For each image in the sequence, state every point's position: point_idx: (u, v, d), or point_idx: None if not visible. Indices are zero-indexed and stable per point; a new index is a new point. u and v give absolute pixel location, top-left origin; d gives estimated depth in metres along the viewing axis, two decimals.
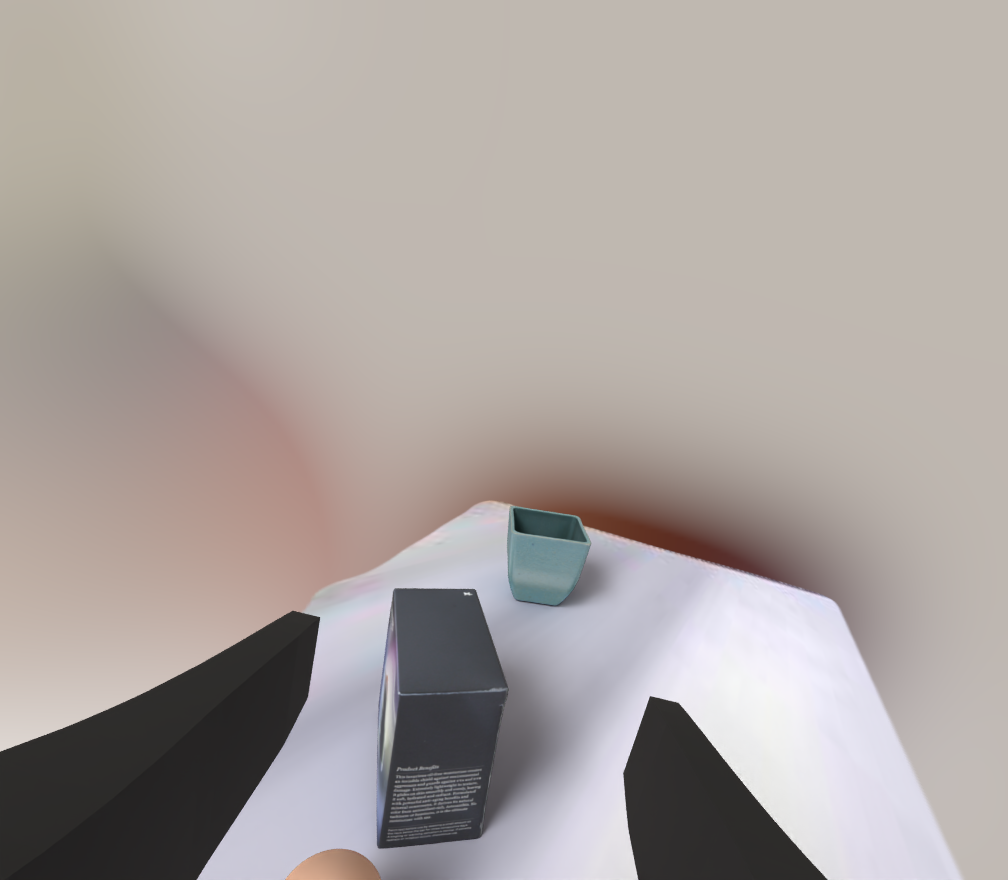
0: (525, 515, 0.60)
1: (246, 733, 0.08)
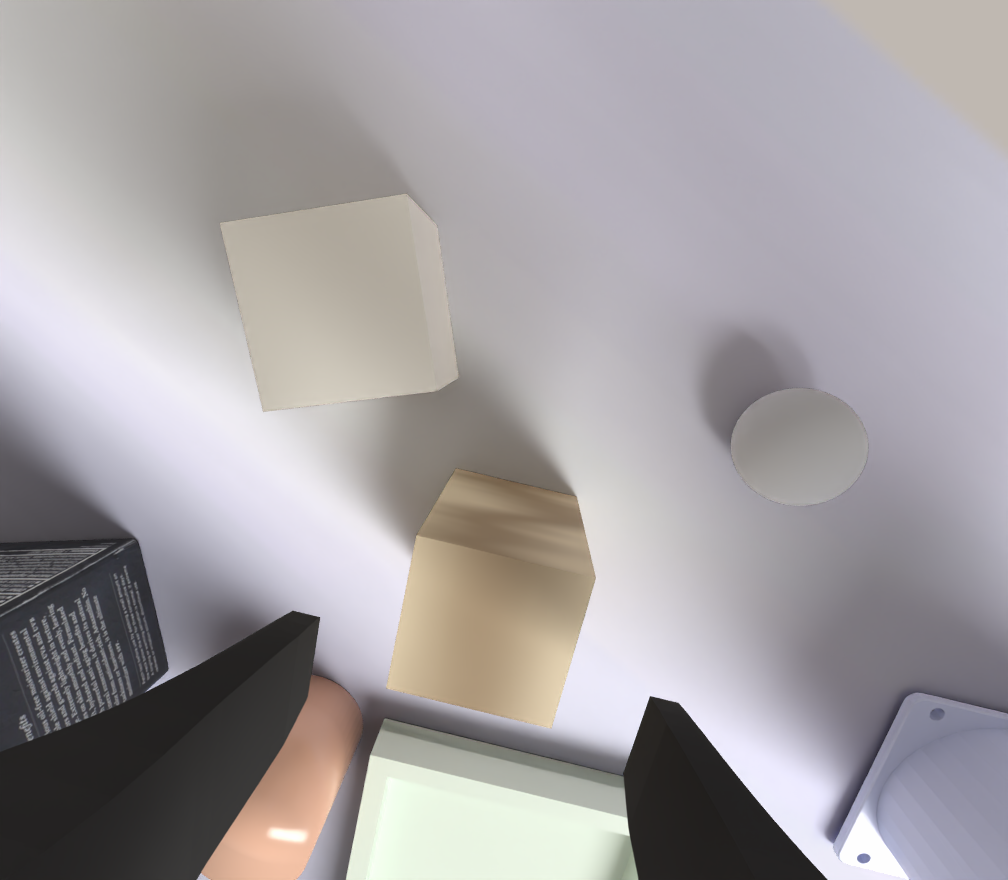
0: None
1: (246, 733, 0.08)
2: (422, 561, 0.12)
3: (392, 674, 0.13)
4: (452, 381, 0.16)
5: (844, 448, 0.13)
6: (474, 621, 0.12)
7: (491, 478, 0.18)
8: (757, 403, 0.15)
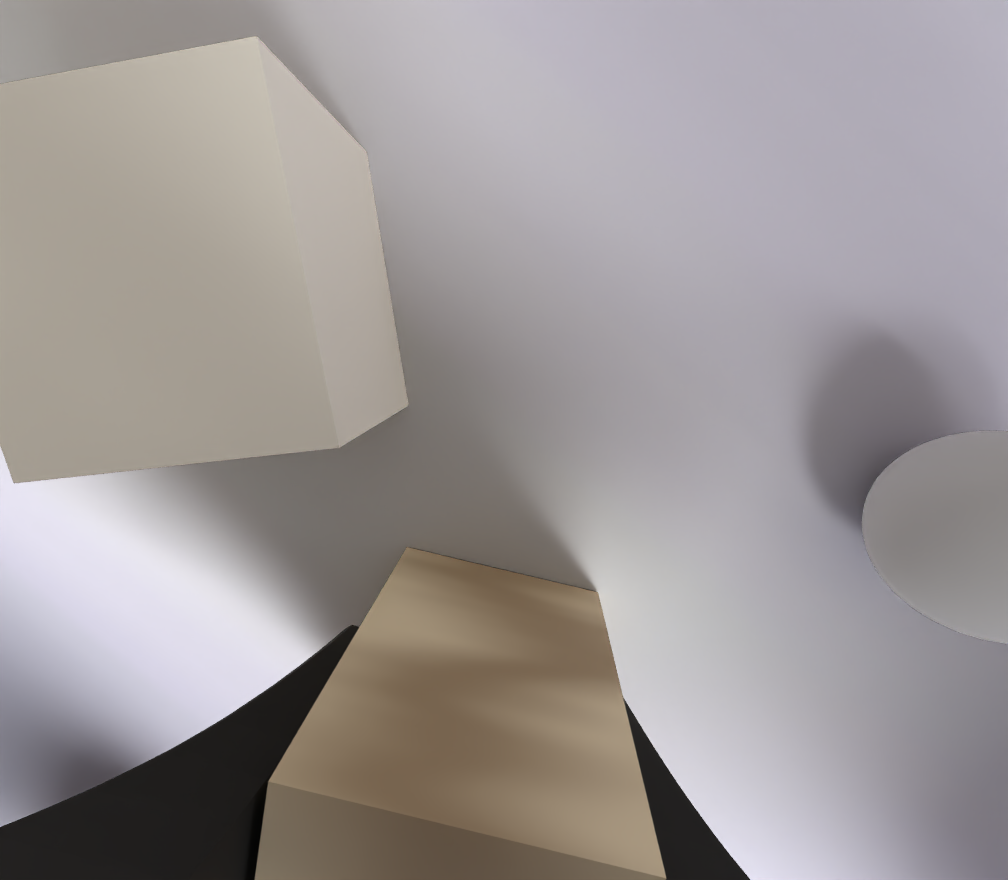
0: None
1: None
2: (285, 832, 0.06)
3: None
4: (391, 415, 0.09)
5: None
6: None
7: (462, 565, 0.11)
8: (924, 458, 0.08)
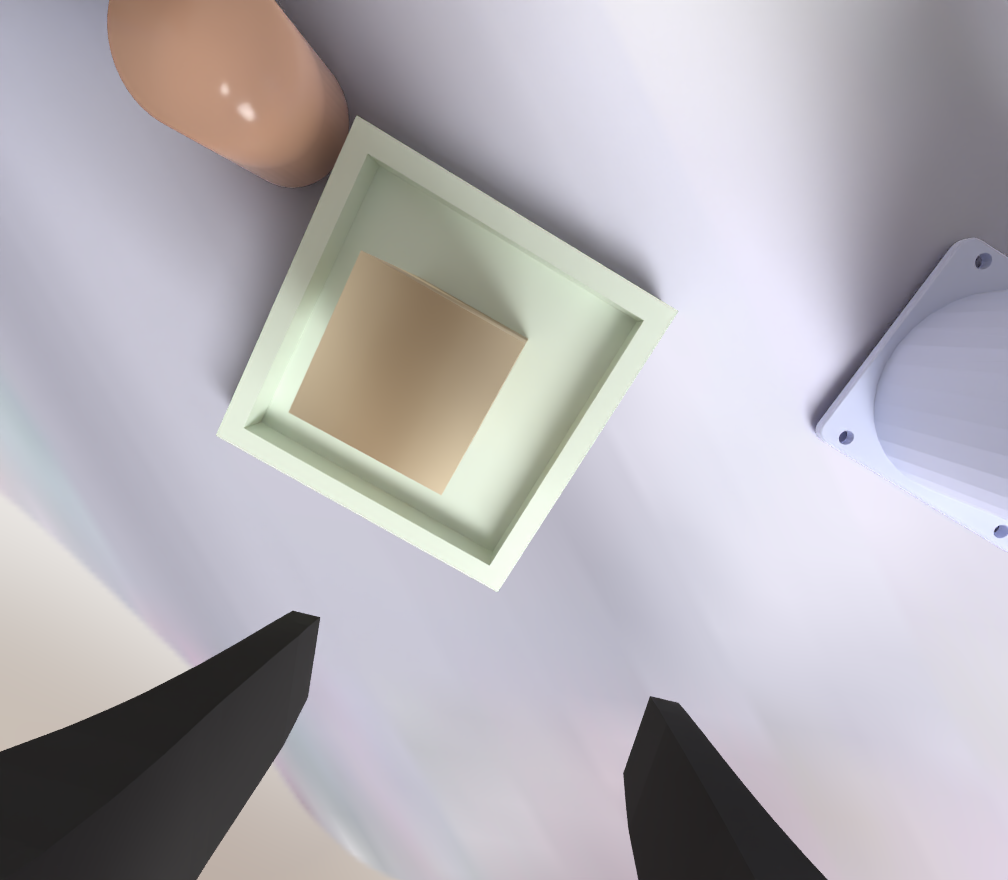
0: None
1: (246, 733, 0.08)
2: (359, 280, 0.12)
3: (298, 398, 0.13)
4: None
5: None
6: (395, 360, 0.12)
7: (450, 295, 0.17)
8: None
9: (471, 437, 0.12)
